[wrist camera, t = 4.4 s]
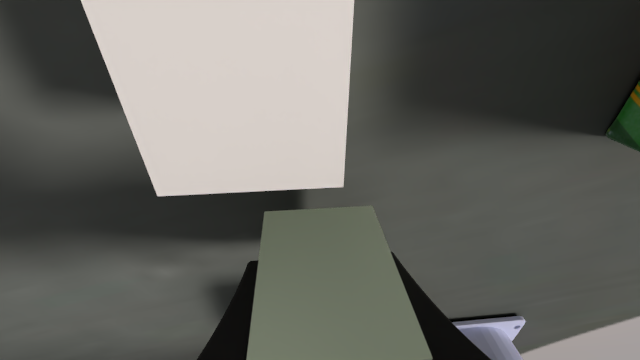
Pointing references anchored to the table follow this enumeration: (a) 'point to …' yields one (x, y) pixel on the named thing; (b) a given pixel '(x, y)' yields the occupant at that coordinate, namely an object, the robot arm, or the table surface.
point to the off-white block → (231, 89)
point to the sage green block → (330, 290)
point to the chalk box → (628, 122)
